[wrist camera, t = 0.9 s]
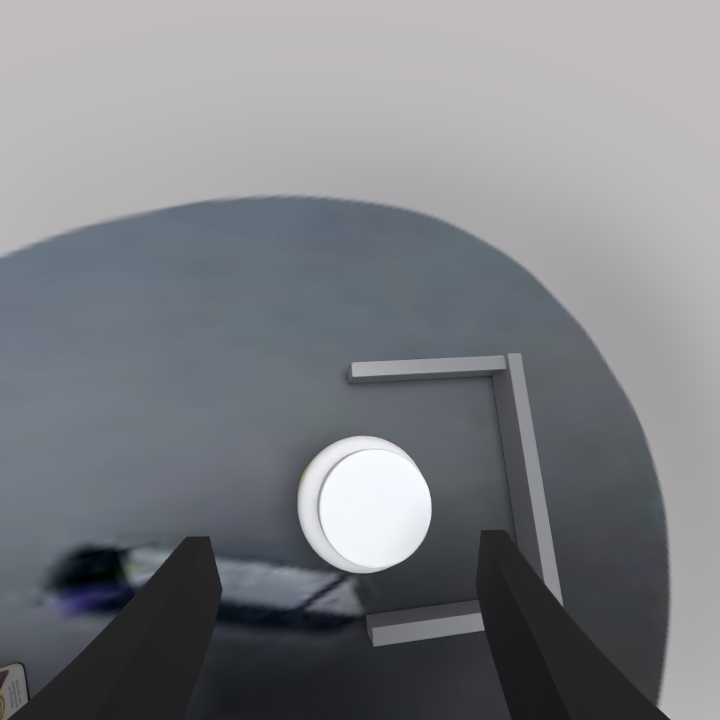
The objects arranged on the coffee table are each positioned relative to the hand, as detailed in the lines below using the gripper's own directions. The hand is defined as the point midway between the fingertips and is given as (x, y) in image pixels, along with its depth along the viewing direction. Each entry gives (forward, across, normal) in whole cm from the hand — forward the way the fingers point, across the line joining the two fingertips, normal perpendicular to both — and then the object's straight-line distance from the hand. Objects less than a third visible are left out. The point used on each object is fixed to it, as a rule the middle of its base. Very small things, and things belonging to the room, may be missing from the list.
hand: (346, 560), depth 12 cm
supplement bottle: (+11, +1, +7) cm, 13 cm away
